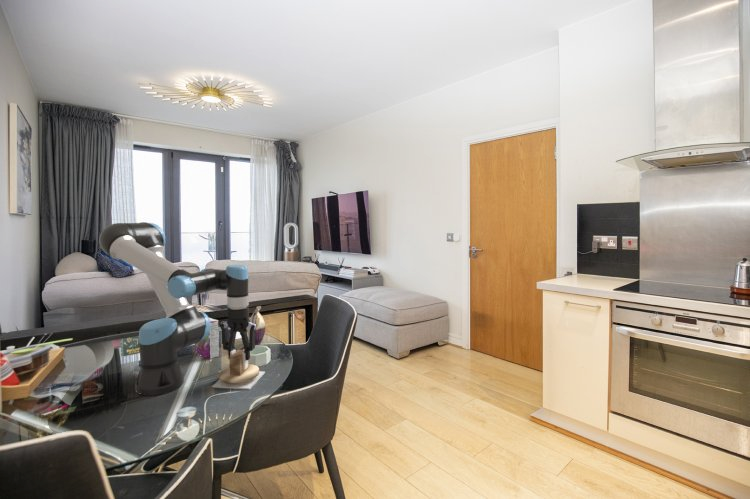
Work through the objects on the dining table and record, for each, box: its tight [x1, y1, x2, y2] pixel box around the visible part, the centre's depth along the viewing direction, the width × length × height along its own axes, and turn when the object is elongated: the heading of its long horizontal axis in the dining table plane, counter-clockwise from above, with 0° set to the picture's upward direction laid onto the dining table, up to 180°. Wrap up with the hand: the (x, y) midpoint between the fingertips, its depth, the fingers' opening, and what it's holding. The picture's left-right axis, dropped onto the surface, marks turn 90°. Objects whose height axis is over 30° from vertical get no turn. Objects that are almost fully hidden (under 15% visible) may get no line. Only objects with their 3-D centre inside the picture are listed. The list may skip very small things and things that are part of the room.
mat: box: [211, 370, 266, 390], centre depth 137 cm, size 14×14×1 cm
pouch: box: [247, 305, 266, 346], centre depth 173 cm, size 25×8×19 cm, turn 13°
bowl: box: [242, 345, 272, 367], centre depth 154 cm, size 11×11×5 cm
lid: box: [218, 349, 260, 383], centre depth 136 cm, size 14×14×8 cm
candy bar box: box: [194, 317, 220, 360], centre depth 159 cm, size 11×5×16 cm, turn 58°
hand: (239, 367), depth 137 cm, fingers closed on lid, 4 cm apart
